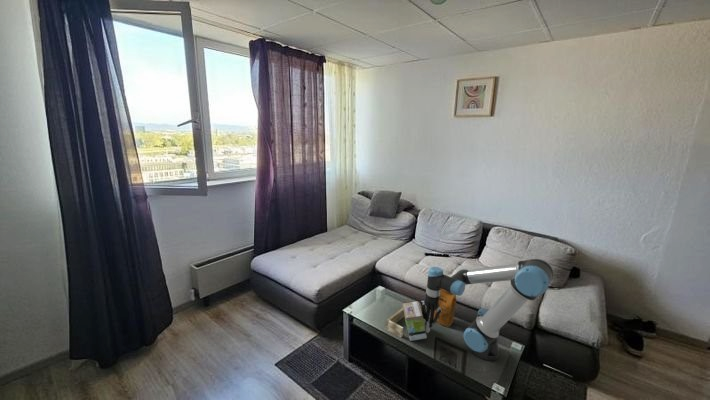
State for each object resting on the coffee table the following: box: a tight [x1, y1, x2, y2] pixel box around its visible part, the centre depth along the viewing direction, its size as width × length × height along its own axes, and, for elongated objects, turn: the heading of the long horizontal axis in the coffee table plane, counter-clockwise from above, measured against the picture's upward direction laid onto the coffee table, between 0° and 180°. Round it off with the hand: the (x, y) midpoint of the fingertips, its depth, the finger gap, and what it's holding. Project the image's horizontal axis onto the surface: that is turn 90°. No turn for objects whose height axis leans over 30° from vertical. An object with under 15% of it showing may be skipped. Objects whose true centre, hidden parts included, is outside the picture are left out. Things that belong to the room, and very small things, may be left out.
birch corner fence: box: [384, 306, 405, 338], centre depth 173 cm, size 11×19×6 cm, turn 140°
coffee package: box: [433, 289, 457, 328], centre depth 179 cm, size 10×12×22 cm
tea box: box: [402, 300, 428, 342], centre depth 166 cm, size 15×10×15 cm
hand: (427, 331), depth 165 cm, fingers closed
